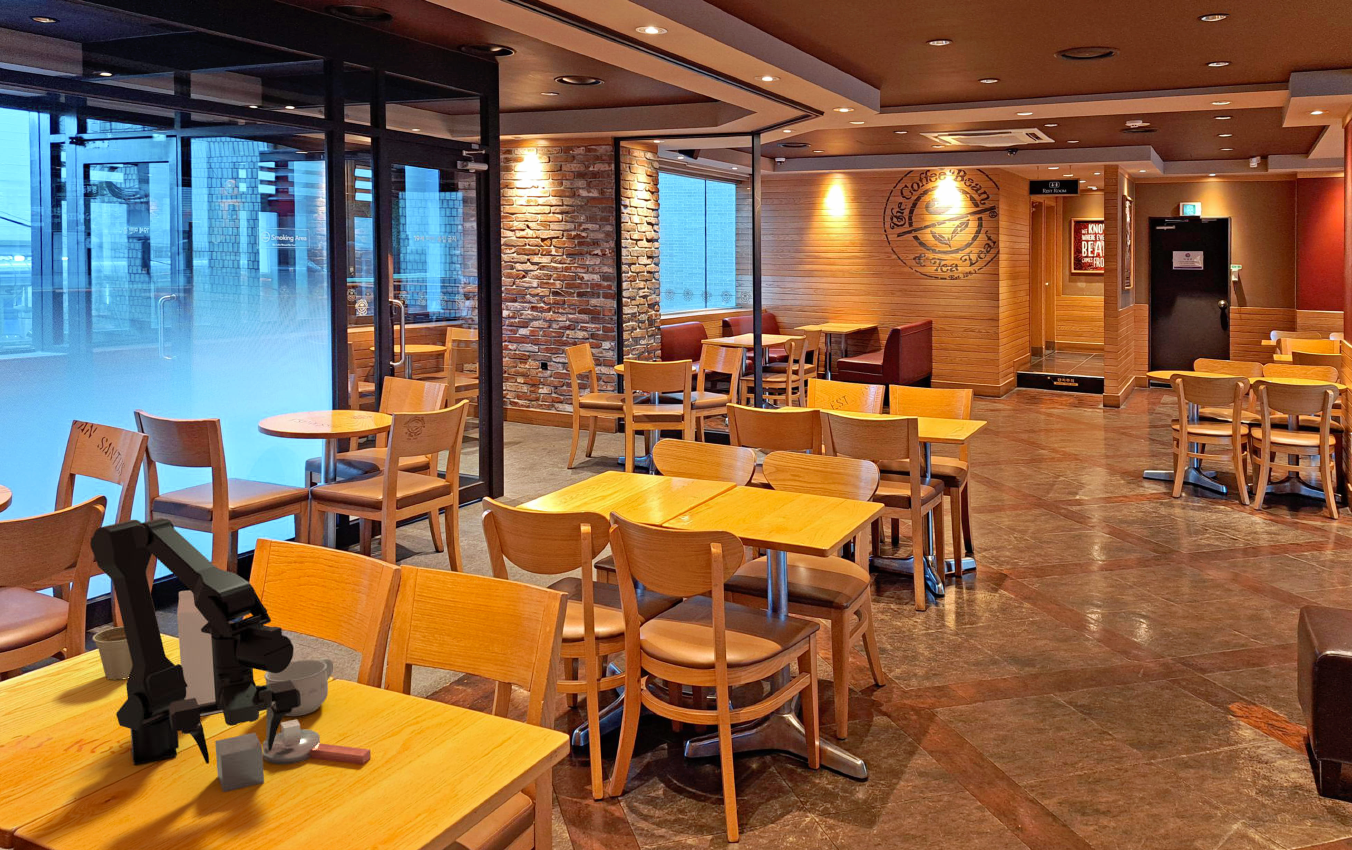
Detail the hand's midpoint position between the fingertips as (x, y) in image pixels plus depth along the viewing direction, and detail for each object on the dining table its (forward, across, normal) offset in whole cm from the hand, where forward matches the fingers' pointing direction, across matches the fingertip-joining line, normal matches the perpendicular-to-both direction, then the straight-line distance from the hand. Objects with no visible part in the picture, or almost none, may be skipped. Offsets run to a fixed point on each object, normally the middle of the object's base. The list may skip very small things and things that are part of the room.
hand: (238, 755), depth 170 cm
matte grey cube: (+4, 0, 0) cm, 4 cm away
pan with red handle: (+4, +12, +3) cm, 13 cm away
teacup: (+4, +15, +24) cm, 29 cm away
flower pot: (+4, -13, +59) cm, 60 cm away
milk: (+4, -1, +35) cm, 35 cm away
